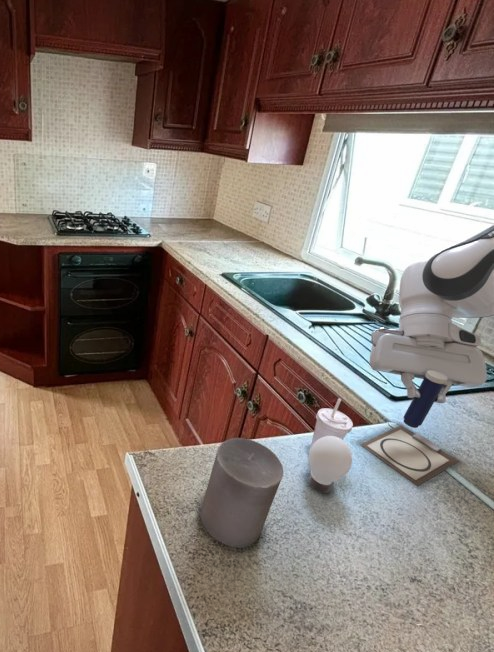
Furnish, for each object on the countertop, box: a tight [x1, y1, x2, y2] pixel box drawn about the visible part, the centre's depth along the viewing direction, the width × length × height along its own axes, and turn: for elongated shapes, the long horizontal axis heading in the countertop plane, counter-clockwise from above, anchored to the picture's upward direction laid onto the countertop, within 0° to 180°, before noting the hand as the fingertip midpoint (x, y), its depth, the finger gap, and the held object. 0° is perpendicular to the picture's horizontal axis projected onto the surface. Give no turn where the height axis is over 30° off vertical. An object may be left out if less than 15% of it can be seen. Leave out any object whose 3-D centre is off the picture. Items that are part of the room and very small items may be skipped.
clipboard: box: [359, 424, 460, 487], centre depth 85 cm, size 12×16×1 cm
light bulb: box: [307, 436, 353, 494], centre depth 72 cm, size 7×7×11 cm
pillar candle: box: [199, 437, 284, 549], centre depth 62 cm, size 10×10×15 cm
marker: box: [403, 370, 448, 429], centre depth 80 cm, size 3×3×12 cm
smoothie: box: [309, 398, 354, 450], centre depth 79 cm, size 6×6×14 cm
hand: (426, 400), depth 80 cm, fingers closed on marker, 3 cm apart
